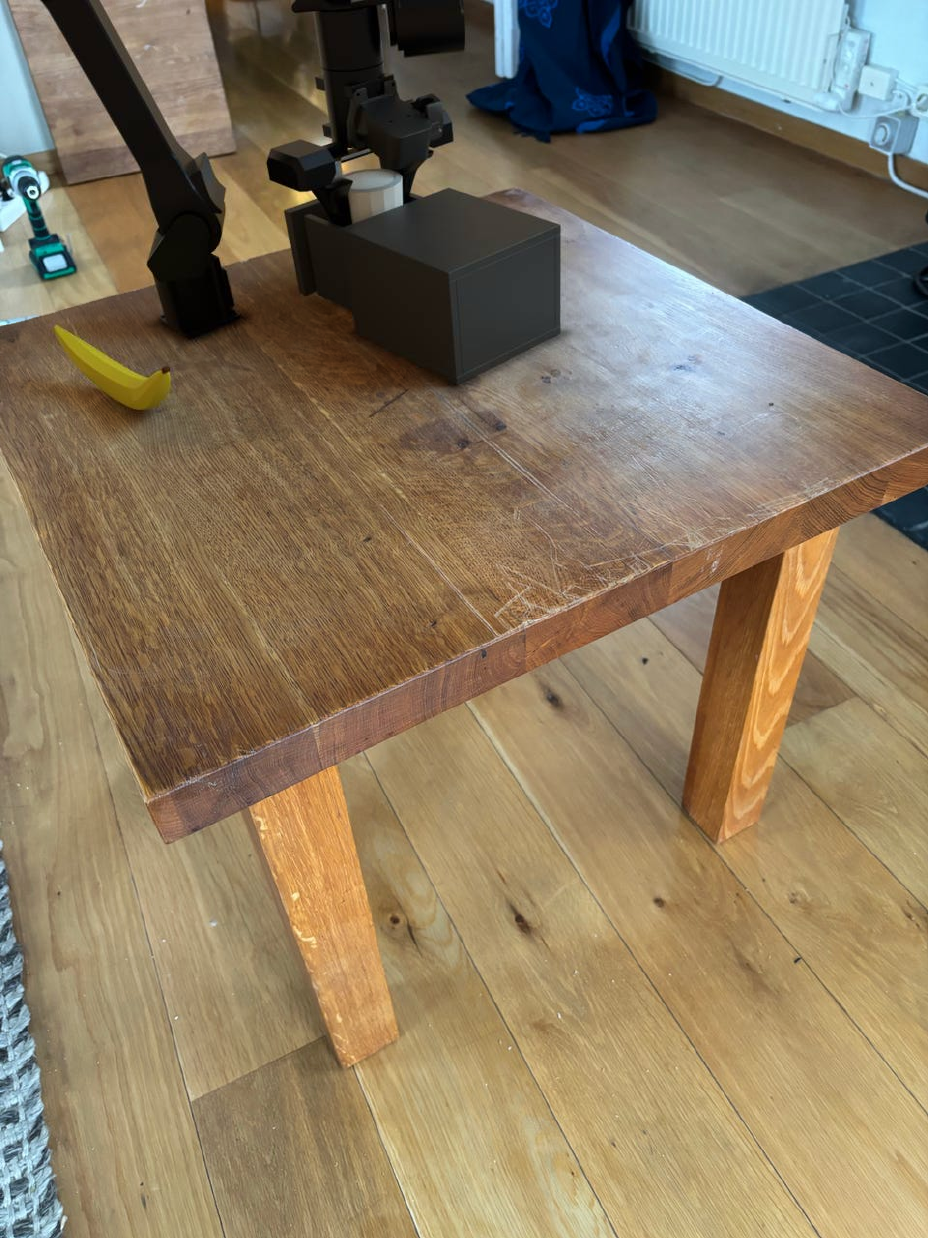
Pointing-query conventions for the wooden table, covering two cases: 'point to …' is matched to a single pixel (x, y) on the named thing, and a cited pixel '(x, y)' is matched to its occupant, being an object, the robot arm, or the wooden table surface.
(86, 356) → the banana
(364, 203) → the white cylinder
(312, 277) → the drawer
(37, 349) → the wooden table surface
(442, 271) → the cabinet
